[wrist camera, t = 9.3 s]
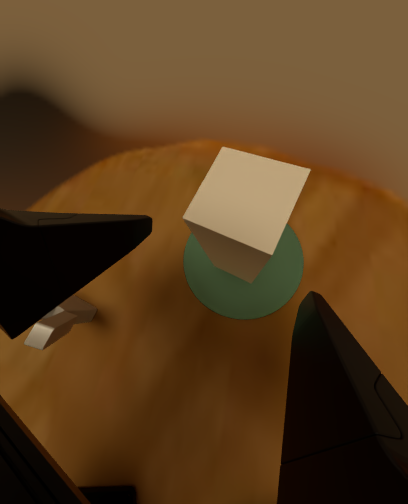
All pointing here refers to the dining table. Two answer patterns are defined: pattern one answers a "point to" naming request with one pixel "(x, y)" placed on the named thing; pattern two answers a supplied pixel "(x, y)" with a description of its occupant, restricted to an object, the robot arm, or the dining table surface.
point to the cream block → (243, 210)
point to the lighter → (60, 322)
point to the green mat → (240, 291)
